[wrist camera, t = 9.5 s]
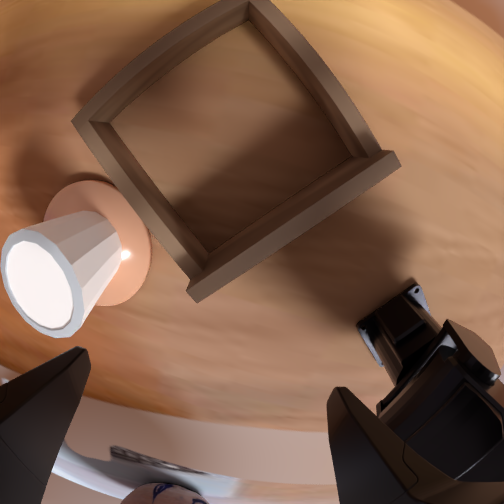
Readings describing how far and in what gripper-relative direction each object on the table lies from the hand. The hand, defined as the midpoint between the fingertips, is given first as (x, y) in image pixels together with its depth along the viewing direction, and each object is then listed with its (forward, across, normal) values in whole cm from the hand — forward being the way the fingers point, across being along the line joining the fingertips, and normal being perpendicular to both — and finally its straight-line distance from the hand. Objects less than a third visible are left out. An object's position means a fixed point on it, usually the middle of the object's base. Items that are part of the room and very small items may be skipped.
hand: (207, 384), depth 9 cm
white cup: (+11, +10, +1) cm, 16 cm away
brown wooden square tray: (+12, +1, -8) cm, 15 cm away
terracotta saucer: (+12, +11, +1) cm, 16 cm away
